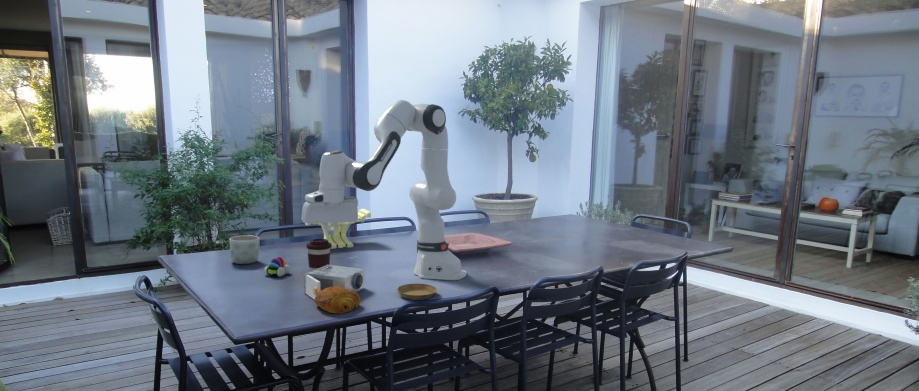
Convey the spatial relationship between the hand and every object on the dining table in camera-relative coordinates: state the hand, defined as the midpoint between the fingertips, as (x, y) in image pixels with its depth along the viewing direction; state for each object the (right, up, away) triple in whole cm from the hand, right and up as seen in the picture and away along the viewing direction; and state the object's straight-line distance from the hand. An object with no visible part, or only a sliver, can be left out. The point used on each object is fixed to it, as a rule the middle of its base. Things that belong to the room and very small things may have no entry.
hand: (329, 234), depth 197 cm
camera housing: (0, -22, +10) cm, 24 cm away
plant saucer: (+31, -23, +7) cm, 39 cm away
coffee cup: (-11, -19, +29) cm, 37 cm away
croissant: (+5, -24, -9) cm, 27 cm away
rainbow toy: (-28, -19, +29) cm, 45 cm away
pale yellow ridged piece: (-17, -12, +90) cm, 92 cm away
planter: (-49, -16, +48) cm, 70 cm away
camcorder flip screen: (-6, -22, 0) cm, 23 cm away
